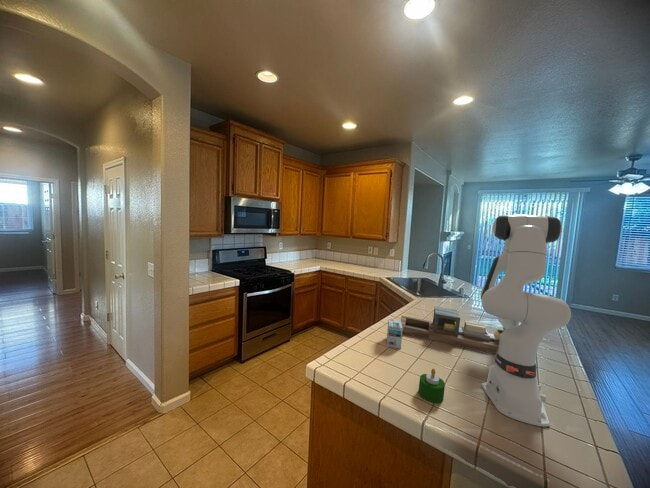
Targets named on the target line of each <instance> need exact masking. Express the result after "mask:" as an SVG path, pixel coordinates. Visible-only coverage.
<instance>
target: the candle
mask: <svg viewBox="0 0 650 488" xmlns="http://www.w3.org/2000/svg"><path fill="white" fill-rule="evenodd" d="M445 387H446V384H445V381H444V380H443V379H442V378H440V377H439V376H437V375H436V369H435V368H432V369H431V371H430V373H422V374H421V375H420V376H419V381H418V392H417V393H418V395H419V396H420V398H422V400H424V401H426V402H428V403H431V404H441V403H442V402H443V401H444V397H445V396H444V395H445V390H446V389H445Z"/></svg>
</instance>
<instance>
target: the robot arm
mask: <svg viewBox="0 0 650 488" xmlns="http://www.w3.org/2000/svg"><path fill="white" fill-rule="evenodd" d="M492 232H493V234H494V237H495V238H496V239H498V240H502V241H505V243H504V248H503V251H502V253H501V254H500V255H498V256H496V257H494V259H493V261H492V264H491V266H490V269H489V271H488V274H487V277H486V280H485V283H484V285H483V287H482V288H481V290H480V301H481V302H480V303H481V306H482V308H483V310H484V312H485V313H486V314H488V315H490V316H493V317H496V318H497V320H498V322H499V324H501V326H502V330H503V332H502V333H501V335H500V341H499V348H498V351H497V353H496V354H495V356H494V357H495V360H494V361H495V362H494V363H493V364H492V365H491V366H489V369H488V373H487V378H486V382H482V383H481V388H482V389H483V390H484V392H485V394H486V395H487V397H489V400H490V401H491V402H492V404H493V405H494V407H495V409H497V411H498V412H499V413H500V414H503V415H504V416H506V417H508V418H510V419H513V420H517V421H519V422H522V423H525V424H529V425H532V426H537V427H545V428H546V427H550V421H549V417H548V414H547V410H546V408H545V405H544V403H546V401H547V396H546V395H545V394H542V393H541V391H540V390H542V385H539V381H538V377H537V372H538V371H537V363H536V359H537V354H538V350H539V347H540V345H541V342H542V340H543V339H544V338H545V337H546V336H547V335H548V334H550V333H551V332H553V331H555V330H557V329H561V328H563V327H565V326H567V324H569V323H570V320H571V319H572V311H571V308H570V306H569V304H568V303H567V302H566V301H565V300H563V299H561V298H558V297H555V296H551V295H547V294H543V293H535V292H527V291H524V287H525V285H528V284H532V283H536V282H539V281H540V280H542V279H543V278H544V277H545V275H546V264H547V263H546V262H547V244H549V243H554V242H556V241H558V240H559V238H560V236H561V235H562V232H563V226H562V223H561V220H560V219H559V218H558V217H555V216H551V215H550V216H549V215H547V216H545V215H544V216H542V215H534V214H533V215H531V214H530V215H529V214H511V215H510V214H509V215H508V214H504V215H503V214H502V215H499V216H497V217H496V218H495V220H494V222H493V224H492ZM503 272H505V273H504V275H503V277H502V279H500V281H499V282H498V283H497V284H496V282H497V280H498V277H499V275H500V274H502V273H503Z"/></svg>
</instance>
